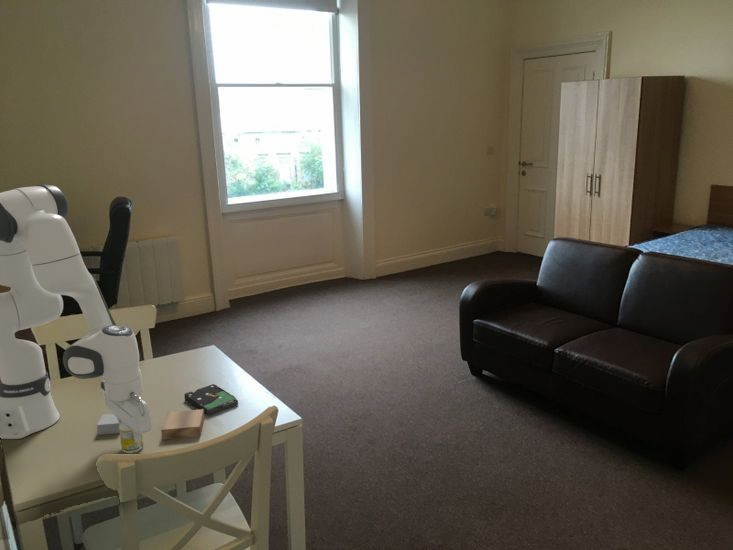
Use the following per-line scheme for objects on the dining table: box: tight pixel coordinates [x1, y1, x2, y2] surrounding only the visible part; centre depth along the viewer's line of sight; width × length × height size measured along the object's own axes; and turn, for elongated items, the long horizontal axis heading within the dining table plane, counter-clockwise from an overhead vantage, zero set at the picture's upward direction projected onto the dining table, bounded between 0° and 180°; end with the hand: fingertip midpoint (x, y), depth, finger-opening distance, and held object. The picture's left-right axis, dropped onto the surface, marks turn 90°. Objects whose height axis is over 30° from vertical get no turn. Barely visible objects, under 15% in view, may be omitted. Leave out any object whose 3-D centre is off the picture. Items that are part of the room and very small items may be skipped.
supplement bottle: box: [119, 418, 144, 454], centre depth 158 cm, size 5×5×10 cm
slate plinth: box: [96, 413, 120, 436], centre depth 169 cm, size 6×6×3 cm
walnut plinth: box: [161, 409, 205, 441], centre depth 168 cm, size 10×10×3 cm
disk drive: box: [184, 383, 239, 417], centre depth 183 cm, size 10×3×15 cm
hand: (131, 435), depth 158 cm, fingers open, 6 cm apart
